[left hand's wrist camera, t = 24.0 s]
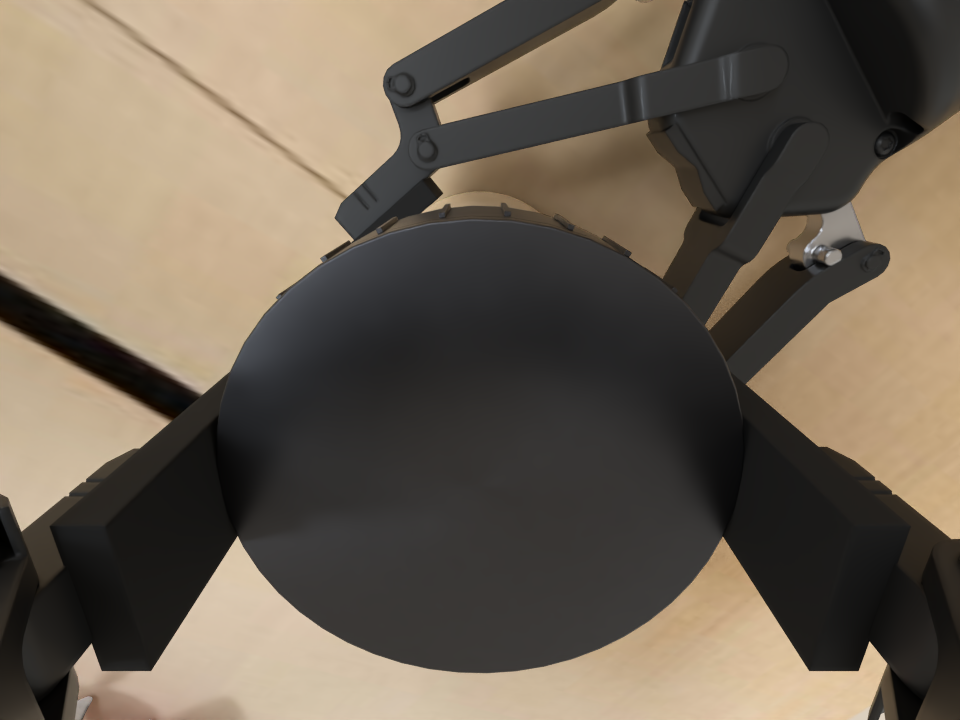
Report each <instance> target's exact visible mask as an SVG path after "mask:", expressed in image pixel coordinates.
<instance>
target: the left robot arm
mask: <svg viewBox="0 0 960 720" xmlns="http://www.w3.org/2000/svg"><path fill="white" fill-rule="evenodd" d="M229 373H230V372H229ZM229 373H228V374H227V375H226V376H224V377H223V378H222V379H221V380H220V381H219V382H217V383H216V384H215V385H214V386H213V387H212V388H210V389H209V390H208V391H207V392H206V393H204V394H203V395H202V396H201V397H200V398H199V399H197V400H196V401H195V402H194V403H193V404H192V405H190V406H189V407H188V408H187V409H186V410H185V411H183V412H182V413H181V414H180V415H179V416H178V417H176V418H175V419H174V420H173V421H172V422H171V423H169V424H168V425H167V426H166V427H165V428H164V429H162V430H161V431H160V432H159V433H158V434H157V435H155V436H154V437H153V438H152V439H151V440H150V441H148V442H147V443H146V444H145V445H144V446H142V447H141V448H140V449H132V450H130V451H128V452H126V453H125V454H123V455H121V456H119V457H117V458H115V459H113V460H111V461H109V462H107V463H105V464H104V465H103V466H102V467H101V468H99V469H98V470H97V471H96V472H94V473H93V474H92V475H91V476H90V477H88V478H87V479H86V482H82V483H81V484H80V485H79V486H77V487H76V488H75V489H74V490H72V491H71V492H70V493H69V497H64V498H63V499H61V500H60V501H59V502H58V503H56V504H55V505H54V506H53V507H52V508H50V509H49V510H48V511H47V512H45V513H44V514H43V515H42V516H41V517H39V518H38V519H37V520H36V521H34V522H33V523H32V524H31V525H29V526H28V527H27V528H26V529H25V530H23V531H22V532H21V530H20V528H19V525H18V523H17V520H16V517H15V515H14V512H13V510H12V507H11V505H10V502H9V499H8V498H7V497H5V496H3V495H1V494H0V720H75V715H76V707H77V700H78V693H79V683H78V678H77V674H76V672H75V669H74V664H75V663H76V662H77V661H78V659H79V658H80V657H81V656H82V654H83V653H84V652H85V651H86V649H87V648H88V647H89V646H90V644H91V643H92V645H93V648H94V651H95V653H96V656H97V659H98V662H99V664H100V667H101V670H102V671H151V670H152V669H153V667H154V665H155V664H156V662H157V661H158V659H159V658H160V656H161V655H162V653H163V651H164V650H165V648H166V647H167V645H168V644H169V642H170V641H171V639H172V637H173V636H174V634H175V633H176V631H177V630H178V628H179V626H180V625H181V623H182V622H183V620H184V619H185V617H186V616H187V614H188V612H189V611H190V609H191V608H192V606H193V605H194V603H195V602H196V600H197V598H198V597H199V595H200V594H201V592H202V591H203V589H204V588H205V586H206V584H207V583H208V581H209V580H210V578H211V577H212V575H213V573H214V572H215V570H216V569H217V567H218V566H219V564H220V563H221V561H222V559H223V558H224V556H225V555H226V553H227V552H228V550H229V549H230V547H231V545H232V544H233V542H234V541H235V539H236V538H237V536H238V535H237V533H236V531H235V529H234V527H233V525H232V523H231V520H230V517H229V514H228V511H227V508H226V505H225V502H224V499H223V495H222V490H221V485H220V480H219V475H218V469H217V454H216V432H217V424H218V417H219V410H220V403H221V400H222V396H223V393H224V390H225V386H226V383H227V380H228V377H229ZM730 374H731V377H732V379H733V382H734V384H735V387H736V390H737V395H738V399H739V404H740V409H741V413H742V418H743V432H744V450H745V451H744V461H743V471H742V478H741V483H740V487H739V492H738V496H737V500H736V504H735V508H734V511H733V513H732V516H731V518H730V520H729V523H728V525H727V528H726V530H725V533H724V535H723V537H724V539H725V540H726V542H727V543H728V545H729V546H730V548H731V550H732V551H733V553H734V554H735V556H736V557H737V559H738V560H739V562H740V564H741V565H742V567H743V568H744V570H745V571H746V573H747V574H748V576H749V578H750V579H751V581H752V582H753V584H754V585H755V587H756V589H757V590H758V592H759V593H760V595H761V596H762V598H763V599H764V601H765V603H766V604H767V606H768V607H769V609H770V610H771V612H772V613H773V615H774V617H775V618H776V620H777V621H778V623H779V624H780V626H781V628H782V629H783V631H784V632H785V634H786V635H787V637H788V638H789V640H790V642H791V643H792V645H793V646H794V648H795V649H796V651H797V652H798V654H799V656H800V657H801V659H802V660H803V662H804V663H805V665H806V666H807V668H808V670H809V671H859V668H860V666H861V663H862V660H863V657H864V655H865V652H866V649H867V646H868V644H869V641H870V642H871V643H872V645H873V646H874V647H875V648H876V650H877V651H878V652H879V653H880V655H881V656H882V657H883V658H884V660H885V661H886V662H887V663H888V664H887V666H886V669H885V672H884V674H883V677H882V679H881V682H880V684H879V687H878V690H877V692H876V695H875V697H874V700H873V702H872V705H871V708H870V710H869V715H868V720H879V717H880V714H881V713H885V720H960V539H950V538H949V537H948V536H947V535H945V534H944V533H943V532H942V531H941V530H939V529H938V528H937V527H936V526H934V525H933V524H932V523H931V522H929V521H928V520H927V519H926V518H924V517H923V516H922V515H921V514H920V513H918V512H917V511H916V510H915V509H913V508H912V507H911V506H910V505H908V504H907V503H906V502H905V501H903V500H902V499H901V498H900V497H899V496H897V495H892V491H891V490H890V489H889V488H887V487H886V486H885V485H884V484H882V483H881V482H880V481H875V477H874V476H873V475H871V474H870V473H869V472H868V471H866V470H865V469H864V468H863V467H861V466H860V465H859V464H858V463H857V462H855V461H854V460H852V459H850V458H848V457H846V456H844V455H842V454H840V453H838V452H836V451H834V450H832V449H830V448H828V447H818V446H817V445H816V444H814V443H813V442H812V441H811V440H810V439H809V438H807V437H806V436H805V435H804V434H803V433H802V432H800V431H799V430H798V429H797V428H796V427H795V426H793V425H792V424H791V423H790V422H789V421H787V420H786V419H785V418H784V417H783V416H782V415H780V414H779V413H778V412H777V411H776V410H775V409H773V408H772V407H771V406H770V405H769V404H768V403H766V402H765V401H764V400H763V399H762V398H761V397H759V396H758V395H757V394H756V393H755V392H754V391H752V390H751V389H750V388H749V387H748V386H747V385H745V384H744V383H743V382H742V381H741V380H740V379H738V378H737V377H736V376H735V375H734V374H732V373H731V372H730Z"/></svg>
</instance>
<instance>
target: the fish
mask: <svg viewBox="0 0 960 720" xmlns="http://www.w3.org/2000/svg"><path fill="white" fill-rule="evenodd" d="M91 702H92V697H91V696H87V697H84V698H82V699H80V700H78V701H77V707H76V715H75V720H82V719H83V717H84V715H85V713H86V711H87V709H88V707H89V705H90V704H91ZM149 720H151V719H149Z"/></svg>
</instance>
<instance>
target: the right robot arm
mask: <svg viewBox="0 0 960 720" xmlns="http://www.w3.org/2000/svg"><path fill="white" fill-rule="evenodd" d="M615 1H617V0H505V1H503V2H501V3H499V4H498V5H496V6H494V7H492V8H491V9H489V10H487V11H485V12H484V13H482V14H480V15H478V16H477V17H475V18H473V19H471V20H470V21H468V22H466V23H464V24H463V25H461V26H459V27H457V28H456V29H454V30H452V31H450V32H449V33H447V34H445V35H443V36H442V37H440V38H438V39H436V40H435V41H433V42H431V43H429V44H428V45H426V46H424V47H422V48H421V49H419V50H417V51H415V52H414V53H412V54H410V55H408V56H407V57H405V58H403V59H401V60H400V61H398V62H396V63H394V64H393V65H392V66H391V67H390V68H388V69H387V71H386V73H385V76H384V80H383V87H384V91H385V94H386V96H387V97H388V99H389V100H390V103H391V105H392V108H393V111H394V113H395V116H396V119H397V121H398V124H399V128H400V132H401V140H400V145H399V147H398V149H397V151H396V152H395V153H394V155H393V156H392V157H391V158H389V159H388V160H387V161H386V162H385V163H384V164H383V165H382V166H381V167H380V168H379V169H378V170H377V171H375V172H374V173H373V174H372V175H371V176H370V177H369V178H368V179H367V180H366V181H365V182H364V183H363V184H361V185H360V186H359V187H358V188H357V189H356V190H355V191H354V192H353V193H352V194H351V195H350V196H348V197H347V198H346V199H345V200H344V201H343V202H342V203H341V205H340V207H339V209H338V212H337V214H336V216H335V219H336V220H337V221H338V222H339V224H340V225H341V226H342V227H343V228H344V229H345V230H346V231H347V233H348V234H349V235H350V236H351V237H352V238H353V239H354V241H353V242H355V241H357V240H359V239H360V238H362V237H364V236H366V235H367V234H369V233H371V232H373V231H374V230H376V229H377V228H378V227H380V226H381V225H383V224H384V223H386V222H387V221H389V220H390V219H391V218H393V217H396V216H397V218H398V220H401V219H403V218H406V217H408V216H412V215H416V214H421V213H422V212H423V211H424V210H425V209H426V208H428V207H429V206H430V205H431V204H432V203H433V202H434V201H436V200H437V199H438V198H439V197H440V196H441V195H442V194H443V192H442V191H441V190H440V189H439V187H438V186H437V185H436V184H435V183H434V181H433V180H432V179H431V178H430V177H431V176H432V175H433V174H434V173H435V172H436V171H437V170H438V169H440V168H443V167H447V166H452V165H456V164H460V163H464V162H469V161H473V160H477V159H482V158H486V157H490V156H494V155H499V154H503V153H507V152H512V151H516V150H520V149H524V148H529V147H533V146H537V145H541V144H546V143H550V142H554V141H559V140H563V139H567V138H571V137H576V136H580V135H584V134H588V133H593V132H597V131H601V130H606V129H610V128H614V127H618V126H623V125H627V124H631V123H636V122H640V121H644V120H648V125H649V129H650V132H648V133H647V134H646V135H647V137H648V138H649V140H650V141H651V143H652V145H653V146H654V148H655V149H656V151H657V152H658V153H659V154H660V155H661V156H662V157H663V158H665V159H666V160H667V161H668V162H669V163H671V164H672V165H673V166H674V167H675V169H676V172H677V176H678V179H679V182H680V186H681V189H682V191H683V192H684V194H685V195H686V197H687V198H688V200H689V201H690V203H691V205H692V206H694V207H697V209H696V210H695V212H694V214H693V216H692V217H691V219H690V221H689V223H688V225H687V227H686V229H685V232H684V241H683V244H682V246H681V247H680V249H679V251H678V253H677V254H676V256H675V258H674V260H673V261H672V263H671V265H670V267H669V269H668V270H667V272H666V274H665V276H664V277H663V280H665V281H666V282H668V283H669V284H671V285H672V286H674V287H675V288H676V289H677V290H678V292H676V294H677V295H678V296H679V297H681V298H682V299H683V300H684V301H685V302H686V303H687V305H688V306H689V307H690V308H691V309H692V311H693V312H694V313H695V314H696V316H697V317H698V318H699V319H700V321H701V322H702V323H703V324H704V325H705V324H706V322H707V321H708V319H709V317H710V316H711V314H712V312H713V311H714V309H715V308H716V306H717V304H718V303H719V301H720V299H721V298H722V296H723V295H724V293H725V291H726V290H727V288H728V286H729V285H730V283H731V282H732V280H733V278H734V277H735V275H736V273H737V272H738V270H739V269H740V268H741V267H742V266H743V265H744V264H746V263H748V262H750V261H751V260H752V259H754V258H755V256H756V255H757V254H758V252H759V251H760V249H761V248H762V246H763V244H764V243H765V241H766V240H767V238H768V236H769V235H770V233H771V232H772V230H773V228H774V227H775V225H776V224H777V222H778V220H779V219H780V217H786V216H802V215H807V225H806V227H805V229H804V231H803V232H802V234H800V235H799V236H798V237H797V238H796V239H793V240H791V241H790V242H789V243H788V245H787V252H788V253H789V256H787V257H785V258H784V259H782V260H781V261H779V262H778V263H777V264H775V265H774V266H773V267H772V268H770V269H769V270H768V271H767V272H766V273H765V274H764V275H763V276H762V277H761V278H760V279H759V280H758V281H757V282H756V283H755V284H754V285H753V286H752V287H751V288H750V289H749V290H748V291H747V292H746V293H745V294H744V295H743V296H742V297H741V298H740V299H739V300H738V301H737V302H736V303H735V304H734V305H733V307H732V308H731V309H730V310H729V311H728V312H727V313H726V314H725V315H724V316H723V317H722V318H721V319H720V320H719V321H718V322H717V323H716V324H715V325H714V326H713V327H712V328H711V329H710V330H709V332H710V334H711V336H712V338H713V340H714V341H715V343H716V345H717V346H718V348H719V350H720V352H721V353H722V355H723V357H724V359H725V361H726V364H727V366H728V369H729V371H730V372H731V373H732V374H734V375H735V376H736V377H737V378H738V379H740V380H741V381H742V382H743V383H744V384H746V383H747V382H748V381H749V380H750V379H751V378H752V377H753V376H754V375H755V374H756V373H757V372H758V371H759V370H760V369H762V368H763V367H764V366H765V365H766V364H767V363H768V362H769V361H770V360H771V359H772V358H773V357H774V356H775V355H776V354H777V353H778V352H779V351H780V350H781V349H782V348H783V347H784V346H785V345H786V344H787V343H788V342H789V341H790V340H791V339H792V338H793V337H794V336H795V335H797V334H798V333H799V332H800V331H801V330H802V329H803V328H804V327H805V326H806V325H807V324H808V323H809V322H810V321H811V320H812V319H813V318H814V317H815V316H816V315H817V314H818V313H819V312H820V311H821V310H822V309H823V308H824V307H825V306H826V305H827V304H828V303H830V302H832V301H833V300H835V299H837V298H839V297H841V296H843V295H844V294H846V293H848V292H850V291H852V290H854V289H856V288H857V287H859V286H861V285H863V284H865V283H867V282H868V281H870V280H872V279H874V278H876V277H878V276H879V275H880V274H882V273H883V272H884V271H885V269H886V268H887V266H888V264H889V261H890V253H889V251H888V249H887V248H886V247H885V246H883V245H881V244H877V243H873V242H868V241H866V240H865V238H864V236H863V233H862V230H861V227H860V225H859V222H858V219H857V217H856V214H855V211H854V209H853V206H852V203H851V200H852V199H853V198H854V197H855V196H856V195H857V194H858V192H859V191H860V189H861V188H862V186H863V184H864V183H865V181H866V180H867V178H868V177H869V175H870V174H871V173H872V172H873V170H874V169H875V168H876V167H877V166H878V165H879V164H880V163H881V162H883V161H884V160H885V159H887V158H888V157H890V156H892V155H893V154H895V153H897V152H898V151H900V150H902V149H903V148H905V147H907V146H909V145H910V144H912V143H914V142H915V141H917V140H918V139H920V138H922V137H923V136H925V135H926V134H928V133H929V132H930V131H932V130H933V129H935V128H936V127H937V126H939V125H940V124H942V123H943V122H944V121H946V120H947V119H949V118H950V117H951V116H953V115H954V114H956V113H957V112H958V111H960V0H685V1H684V3H683V6H682V8H681V11H680V14H679V17H678V20H677V23H676V26H675V29H674V32H673V35H672V38H671V41H670V44H669V47H668V49H667V52H666V55H665V58H664V61H663V64H662V67H661V70H660V71H657V72H653V73H649V74H645V75H641V76H638V77H634V78H631V79H628V80H625V81H621V82H617V83H613V84H609V85H605V86H601V87H596V88H592V89H588V90H584V91H580V92H576V93H571V94H567V95H563V96H559V97H555V98H551V99H546V100H542V101H538V102H534V103H530V104H526V105H522V106H517V107H513V108H509V109H505V110H501V111H497V112H492V113H488V114H484V115H480V116H476V117H472V118H467V119H463V120H459V121H455V122H451V123H447V124H442V125H441V122H440V119H439V116H438V113H437V110H436V108H435V105H434V104H436V103H438V102H439V101H441V100H443V99H445V98H447V97H449V96H450V95H452V94H454V93H456V92H458V91H459V90H461V89H463V88H465V87H467V86H469V85H470V84H472V83H474V82H476V81H478V80H479V79H481V78H483V77H485V76H487V75H489V74H490V73H492V72H494V71H496V70H498V69H499V68H501V67H503V66H505V65H507V64H509V63H510V62H512V61H514V60H516V59H518V58H519V57H521V56H523V55H525V54H527V53H529V52H530V51H532V50H534V49H536V48H538V47H539V46H541V45H543V44H545V43H547V42H549V41H550V40H552V39H554V38H556V37H558V36H559V35H561V34H563V33H565V32H567V31H569V30H570V29H572V28H574V27H576V26H578V25H579V24H581V23H583V22H585V21H587V20H589V19H590V18H592V17H594V16H596V15H597V14H599V13H600V12H602V11H603V10H605V9H607V8H608V7H609V6H610V5H612V4H613V3H614V2H615ZM636 1H638V2H643V3H646V2H650V1H652V0H636ZM353 242H352V243H353Z"/></svg>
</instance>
